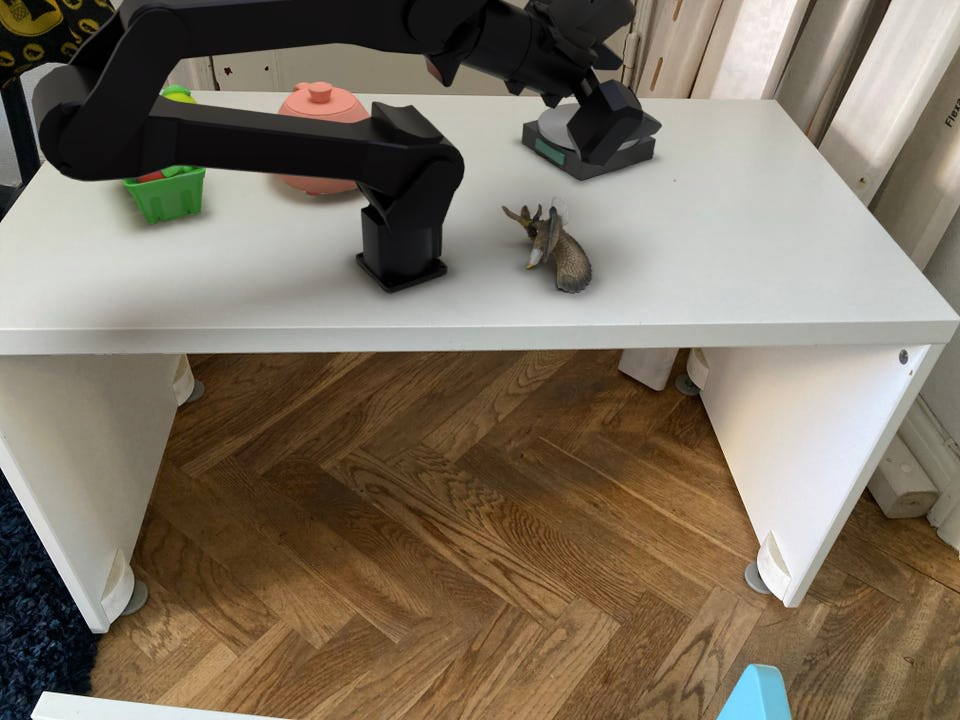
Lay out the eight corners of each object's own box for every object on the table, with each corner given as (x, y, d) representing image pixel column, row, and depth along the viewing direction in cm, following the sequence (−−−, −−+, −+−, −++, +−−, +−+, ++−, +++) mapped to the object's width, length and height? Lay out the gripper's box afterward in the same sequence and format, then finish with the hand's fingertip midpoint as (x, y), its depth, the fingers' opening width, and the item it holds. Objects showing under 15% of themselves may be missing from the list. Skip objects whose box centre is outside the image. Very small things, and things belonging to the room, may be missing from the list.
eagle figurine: (482, 244, 78) (530, 278, 71) (516, 175, 76) (568, 203, 69) (540, 269, 83) (590, 303, 76) (573, 204, 81) (628, 233, 74)
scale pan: (582, 161, 89) (583, 156, 88) (517, 120, 96) (517, 115, 96) (662, 137, 94) (663, 132, 94) (595, 100, 102) (595, 95, 101)
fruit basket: (114, 183, 86) (85, 77, 79) (199, 166, 90) (178, 64, 83) (138, 234, 79) (108, 123, 72) (229, 214, 83) (209, 106, 75)
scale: (578, 181, 91) (580, 161, 89) (519, 143, 98) (520, 123, 96) (652, 158, 96) (656, 139, 94) (591, 123, 103) (594, 104, 101)
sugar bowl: (291, 215, 83) (279, 119, 76) (251, 157, 92) (237, 66, 86) (402, 190, 88) (400, 98, 81) (353, 137, 97) (348, 50, 90)
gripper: (613, 31, 58) (746, 93, 67) (528, -107, 67) (655, -36, 77) (525, 148, 65) (656, 189, 74) (459, 8, 74) (583, 60, 84)
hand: (638, 96), depth 77 cm, fingers open, 9 cm apart
